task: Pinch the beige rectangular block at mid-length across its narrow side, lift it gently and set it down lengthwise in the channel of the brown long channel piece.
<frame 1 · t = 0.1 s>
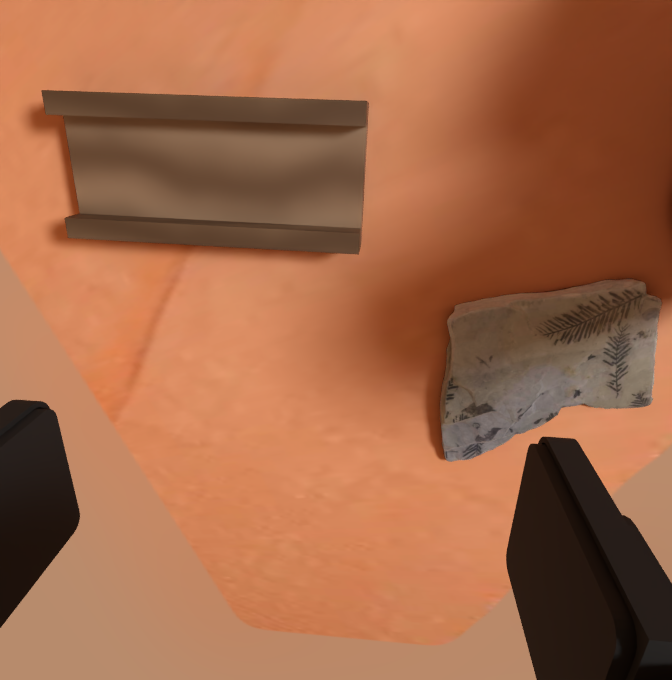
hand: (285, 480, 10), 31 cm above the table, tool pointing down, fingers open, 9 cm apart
fossil rock: (536, 368, 43), on the table
brown long channel piece: (220, 170, 38), on the table
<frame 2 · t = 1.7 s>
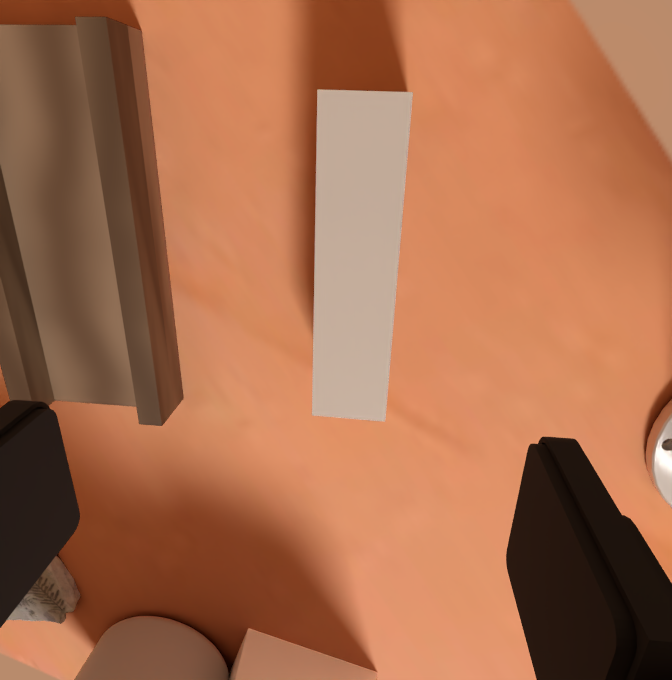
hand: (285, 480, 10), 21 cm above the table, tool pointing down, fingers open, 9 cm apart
cylinder vase: (167, 658, 46), on the table, touching milk
beige rectangular block: (362, 248, 29), on the table
brown long channel piece: (87, 237, 31), on the table
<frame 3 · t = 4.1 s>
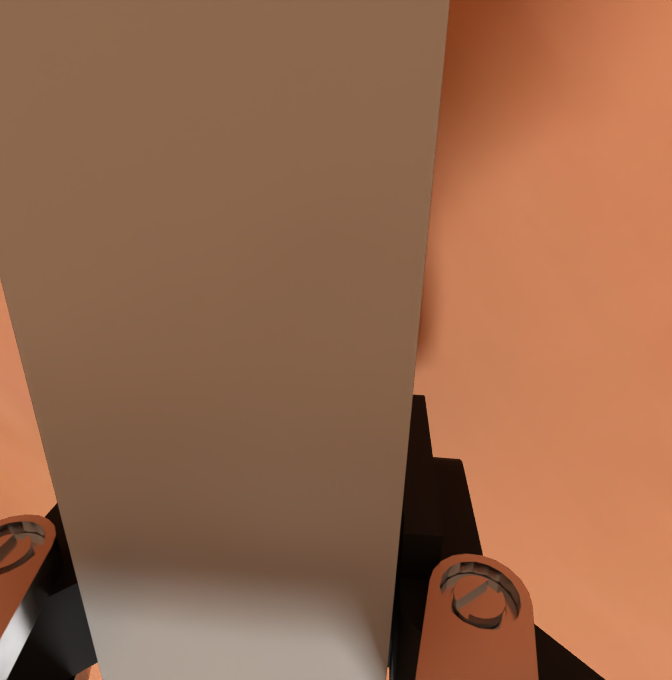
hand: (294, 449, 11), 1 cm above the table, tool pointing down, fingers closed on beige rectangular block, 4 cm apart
beige rectangular block: (304, 414, 12), on the table, touching gripper
when the fingers open (4 cm above the table, at t = 12.5 s): beige rectangular block stays where it is, resting on brown long channel piece.
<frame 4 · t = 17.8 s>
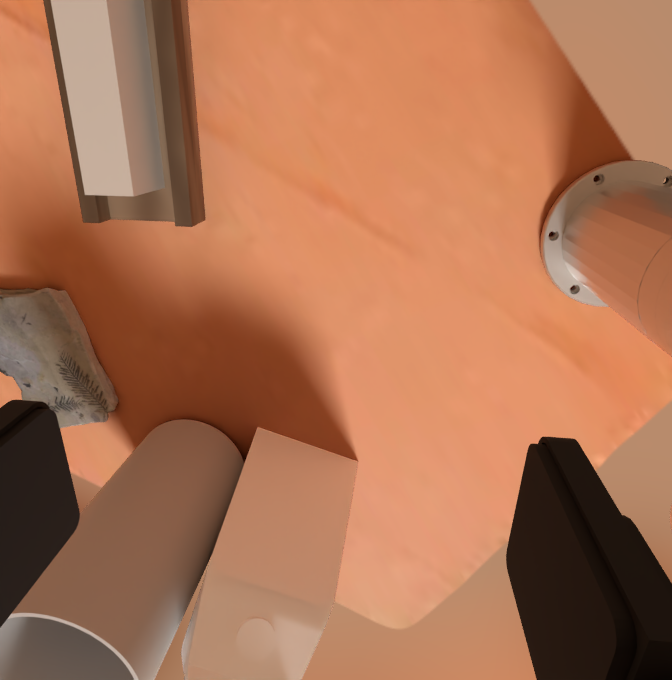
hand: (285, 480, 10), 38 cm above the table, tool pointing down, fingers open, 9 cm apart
milk: (293, 480, 58), on the table, touching cylinder vase
fossil rock: (39, 353, 55), on the table
cylinder vase: (196, 461, 58), on the table, touching milk
beige rectangular block: (130, 87, 42), point 1 cm above the table, touching brown long channel piece
brown long channel piece: (138, 88, 43), on the table
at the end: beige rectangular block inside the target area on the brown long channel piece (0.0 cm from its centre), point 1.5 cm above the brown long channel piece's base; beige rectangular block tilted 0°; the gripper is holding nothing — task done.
